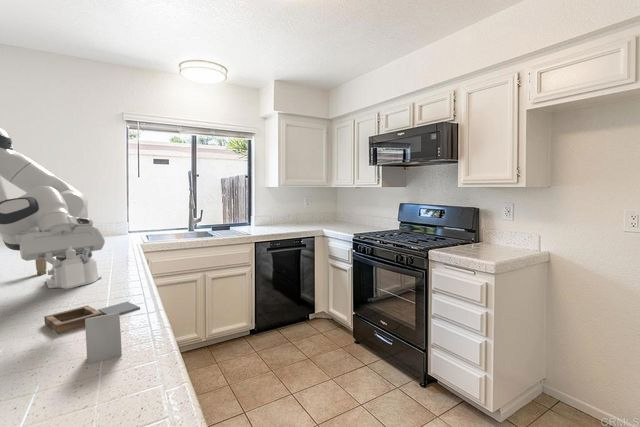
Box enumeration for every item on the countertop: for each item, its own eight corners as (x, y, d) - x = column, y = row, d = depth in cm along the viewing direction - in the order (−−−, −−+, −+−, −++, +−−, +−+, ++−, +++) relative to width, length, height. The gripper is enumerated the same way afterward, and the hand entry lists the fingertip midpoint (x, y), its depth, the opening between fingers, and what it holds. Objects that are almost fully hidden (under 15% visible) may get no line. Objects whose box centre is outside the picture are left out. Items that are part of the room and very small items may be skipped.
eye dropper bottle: (85, 285, 97) (82, 245, 96) (61, 289, 93) (58, 248, 93) (84, 282, 100) (81, 244, 100) (60, 286, 97) (57, 246, 96)
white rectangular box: (121, 355, 79) (119, 315, 78) (87, 364, 75) (84, 321, 74) (120, 349, 82) (118, 310, 81) (87, 357, 78) (85, 316, 77)
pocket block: (44, 324, 96) (44, 316, 96) (88, 312, 105) (87, 305, 105) (57, 334, 90) (57, 325, 90) (102, 321, 99) (102, 313, 99)
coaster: (98, 311, 107) (98, 309, 107) (127, 303, 114) (127, 301, 114) (110, 317, 102) (110, 315, 102) (140, 308, 109) (140, 307, 109)
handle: (34, 276, 149) (32, 243, 148) (35, 273, 154) (32, 241, 152) (48, 274, 152) (46, 242, 151) (48, 271, 157) (46, 240, 156)
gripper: (14, 225, 91) (27, 265, 86) (97, 219, 108) (112, 251, 103) (11, 240, 94) (24, 278, 89) (92, 231, 111) (107, 263, 106)
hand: (72, 264), depth 96 cm, fingers closed on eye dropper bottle, 6 cm apart
